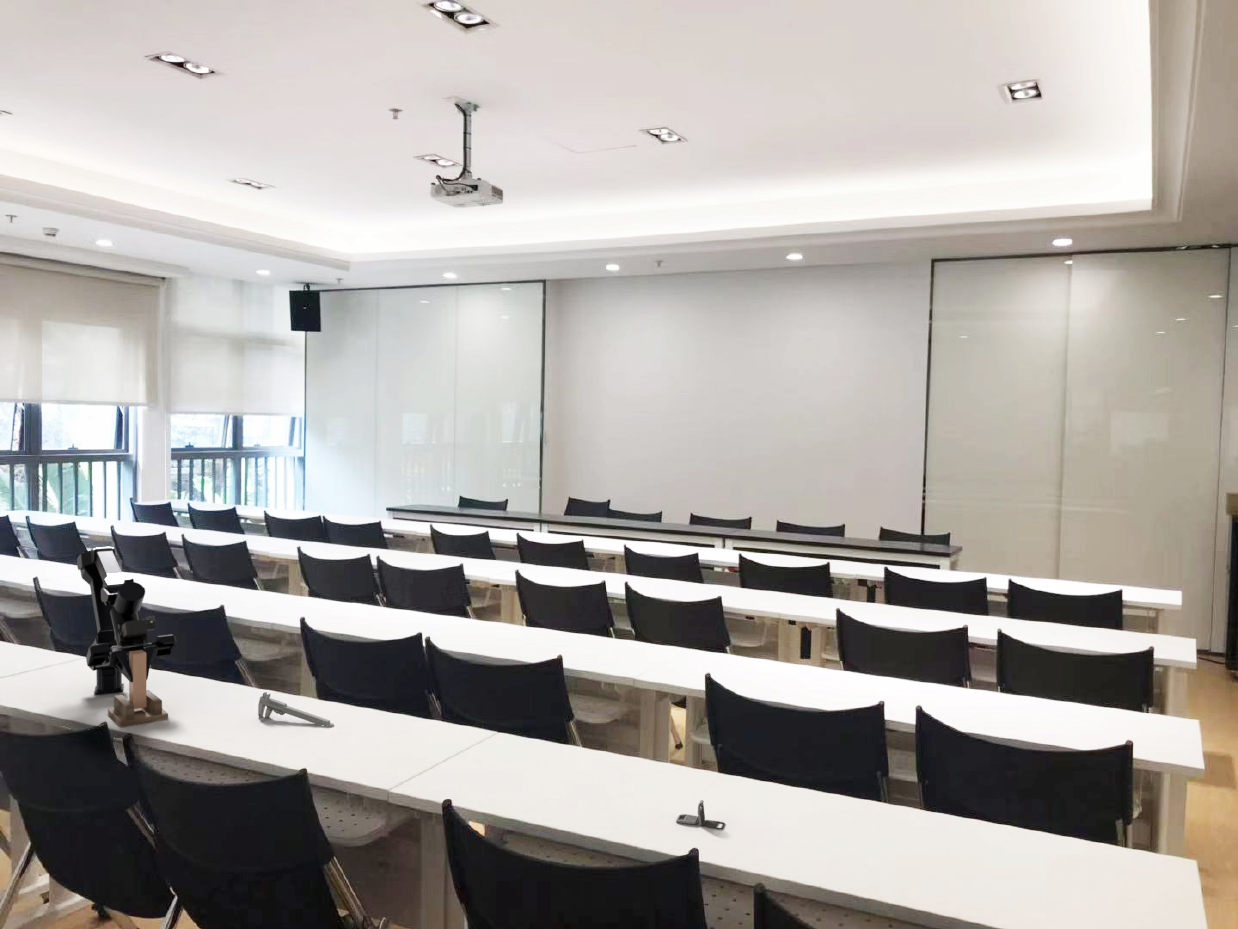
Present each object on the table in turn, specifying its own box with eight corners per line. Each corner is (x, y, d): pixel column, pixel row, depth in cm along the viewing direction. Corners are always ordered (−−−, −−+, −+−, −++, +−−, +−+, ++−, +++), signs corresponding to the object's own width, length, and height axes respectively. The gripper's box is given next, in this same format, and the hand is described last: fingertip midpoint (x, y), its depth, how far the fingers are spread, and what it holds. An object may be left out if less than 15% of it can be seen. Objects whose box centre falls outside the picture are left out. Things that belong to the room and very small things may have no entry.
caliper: (258, 718, 219) (258, 692, 219) (261, 717, 220) (261, 691, 220) (332, 728, 213) (332, 701, 213) (334, 727, 214) (334, 700, 214)
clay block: (129, 705, 218) (129, 651, 218) (142, 703, 220) (142, 649, 220) (133, 709, 216) (133, 654, 215) (146, 707, 217) (146, 652, 217)
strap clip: (675, 825, 165) (675, 802, 164) (679, 818, 168) (679, 795, 167) (722, 832, 162) (722, 808, 162) (725, 825, 165) (726, 802, 165)
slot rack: (108, 714, 219) (107, 696, 219) (153, 706, 226) (153, 688, 226) (121, 727, 210) (121, 708, 210) (168, 718, 217) (168, 700, 217)
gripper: (88, 610, 214) (100, 668, 206) (174, 601, 226) (188, 655, 218) (81, 638, 220) (92, 694, 212) (165, 627, 232) (178, 680, 225)
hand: (139, 680), depth 217 cm, fingers closed on clay block, 3 cm apart
